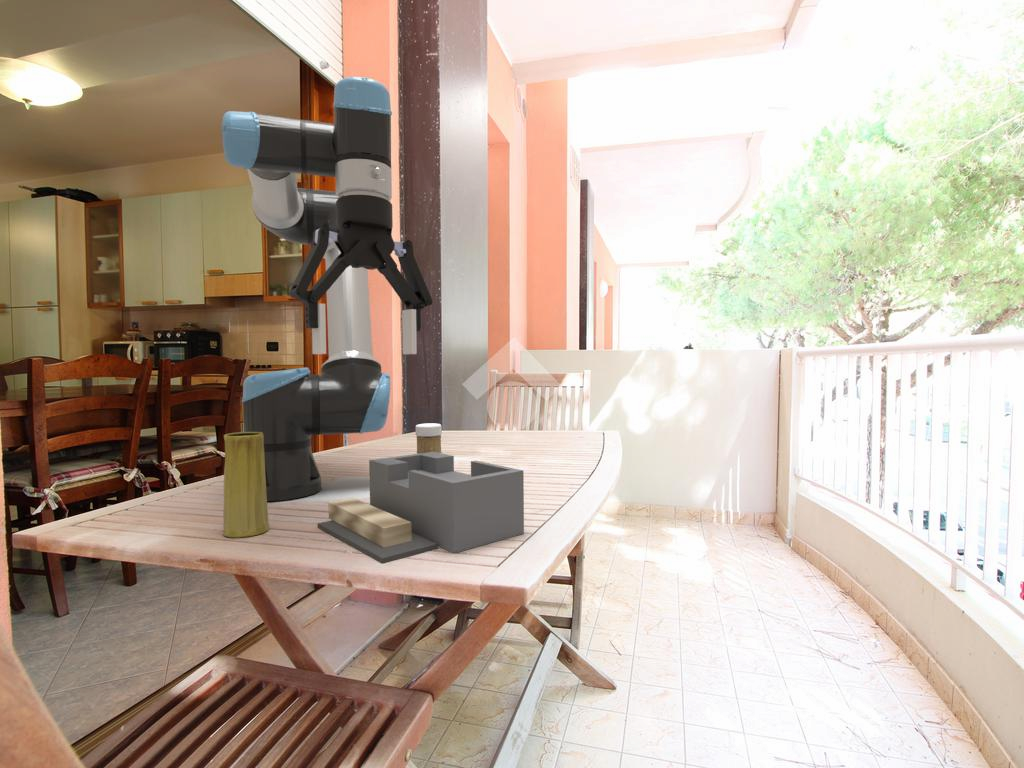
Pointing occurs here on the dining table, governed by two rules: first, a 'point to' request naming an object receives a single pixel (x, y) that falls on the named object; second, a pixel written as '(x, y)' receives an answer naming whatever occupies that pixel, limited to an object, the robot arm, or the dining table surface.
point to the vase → (245, 485)
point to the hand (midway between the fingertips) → (367, 354)
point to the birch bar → (370, 522)
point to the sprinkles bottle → (428, 437)
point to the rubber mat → (373, 548)
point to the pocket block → (450, 498)
